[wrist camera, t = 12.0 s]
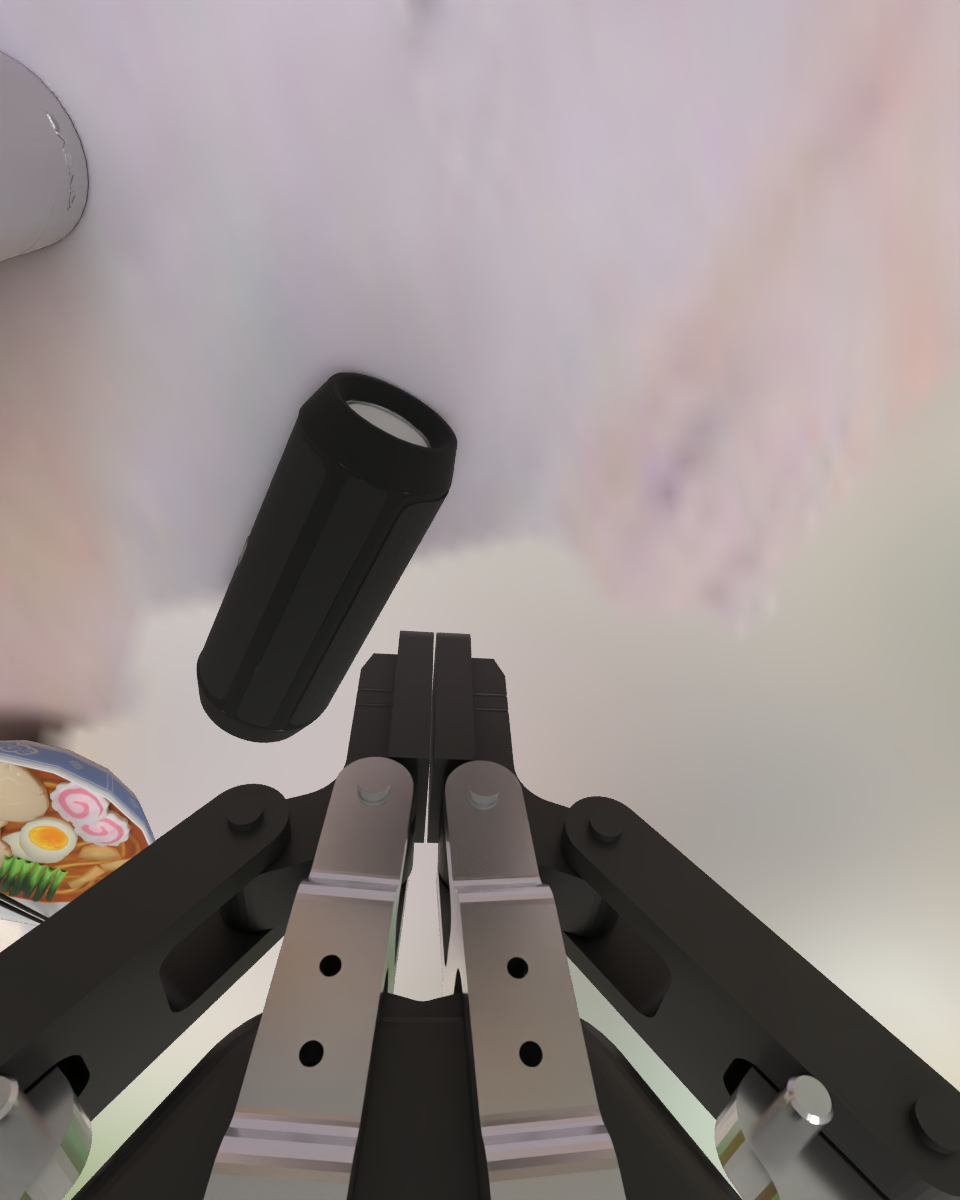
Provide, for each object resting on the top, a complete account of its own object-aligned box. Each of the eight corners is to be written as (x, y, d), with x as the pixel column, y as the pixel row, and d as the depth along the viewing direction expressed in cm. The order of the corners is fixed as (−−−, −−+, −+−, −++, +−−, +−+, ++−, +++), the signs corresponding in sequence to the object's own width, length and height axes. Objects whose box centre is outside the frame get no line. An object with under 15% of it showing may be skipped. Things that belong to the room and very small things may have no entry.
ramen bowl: (245, 805, 67) (222, 882, 60) (87, 888, 74) (51, 966, 67) (16, 638, 55) (-44, 710, 48) (-148, 756, 62) (-221, 834, 55)
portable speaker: (328, 346, 43) (299, 400, 35) (469, 418, 46) (473, 484, 38) (209, 636, 56) (167, 726, 47) (326, 678, 58) (306, 770, 50)
